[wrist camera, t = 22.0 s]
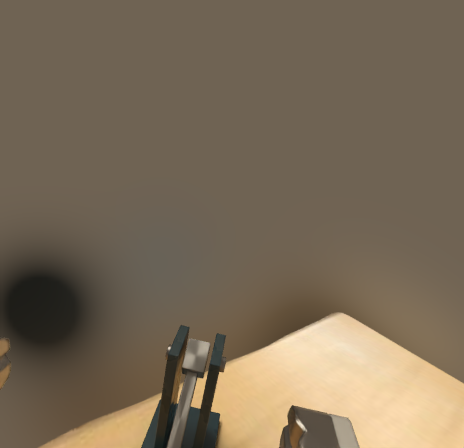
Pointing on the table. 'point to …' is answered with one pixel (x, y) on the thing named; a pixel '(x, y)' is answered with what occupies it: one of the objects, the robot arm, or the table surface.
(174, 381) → the bracket
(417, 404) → the table surface
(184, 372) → the lever
